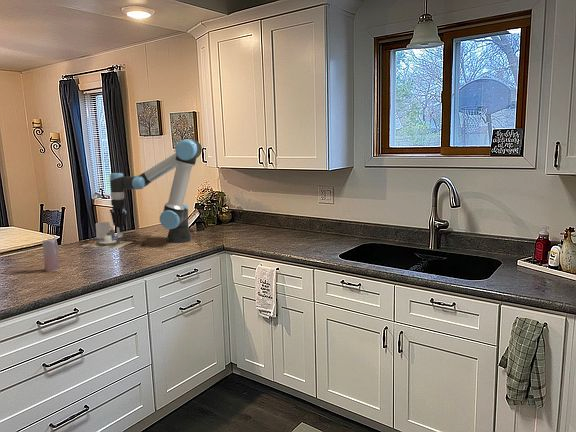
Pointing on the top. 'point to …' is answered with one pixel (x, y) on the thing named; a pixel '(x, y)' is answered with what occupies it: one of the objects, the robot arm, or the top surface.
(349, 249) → the top surface
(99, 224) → the mug
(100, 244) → the board
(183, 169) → the robot arm
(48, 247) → the beverage can
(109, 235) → the dial
